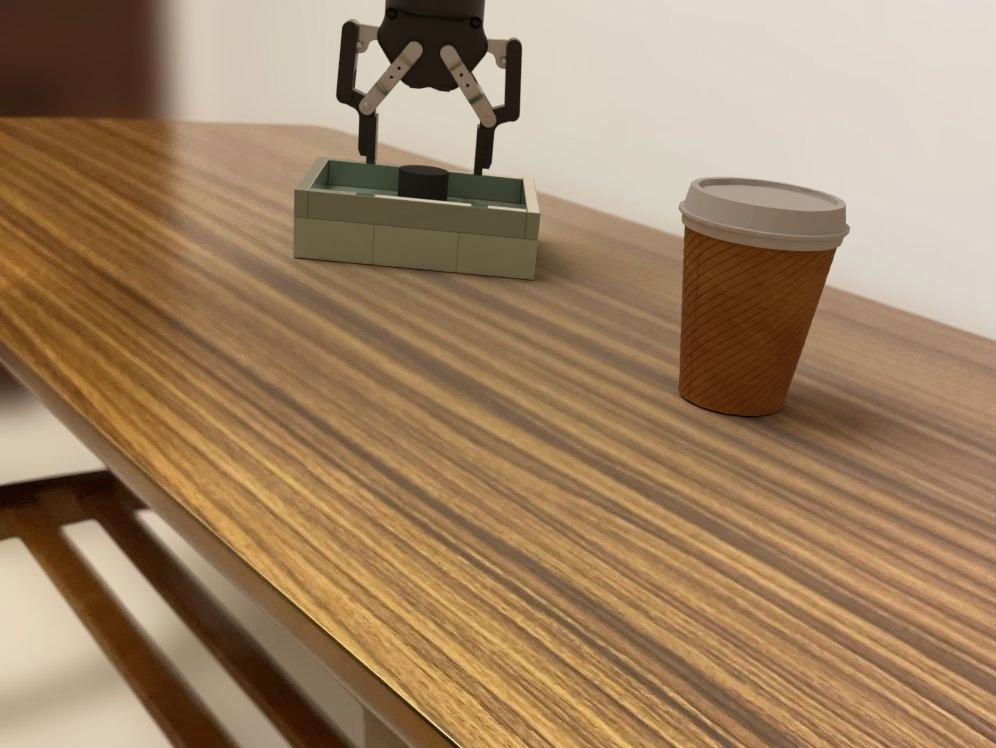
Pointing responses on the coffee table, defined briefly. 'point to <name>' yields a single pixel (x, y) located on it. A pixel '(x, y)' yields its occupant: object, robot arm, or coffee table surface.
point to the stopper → (423, 182)
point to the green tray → (415, 244)
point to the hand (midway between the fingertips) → (425, 168)
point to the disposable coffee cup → (751, 287)
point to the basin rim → (418, 200)
